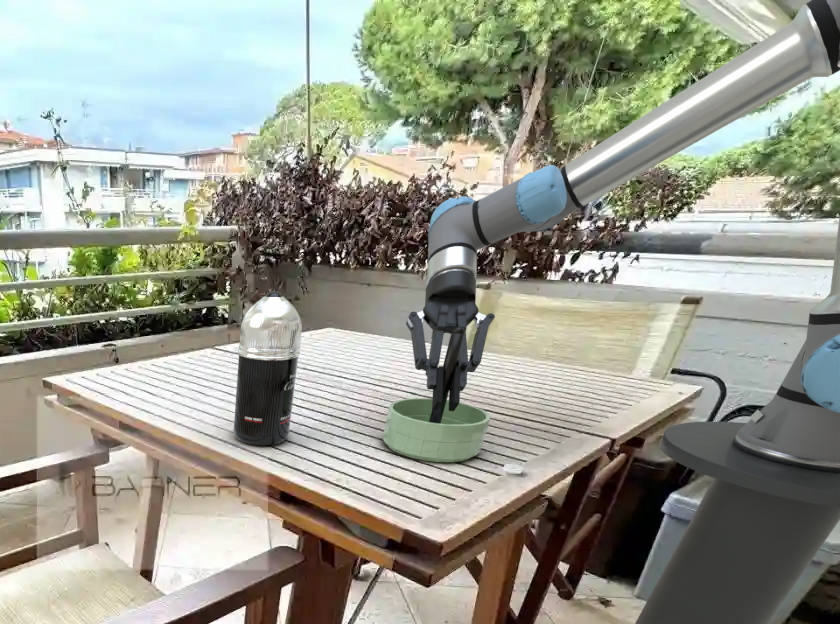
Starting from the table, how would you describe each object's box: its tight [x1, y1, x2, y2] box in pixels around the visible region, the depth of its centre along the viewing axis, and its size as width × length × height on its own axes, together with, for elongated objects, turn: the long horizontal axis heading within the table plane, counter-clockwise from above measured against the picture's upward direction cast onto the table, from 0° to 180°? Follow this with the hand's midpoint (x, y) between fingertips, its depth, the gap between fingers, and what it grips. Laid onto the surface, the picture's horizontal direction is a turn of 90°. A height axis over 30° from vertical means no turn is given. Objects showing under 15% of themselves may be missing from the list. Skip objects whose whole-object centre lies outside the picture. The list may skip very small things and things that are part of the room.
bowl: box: [382, 397, 491, 463], centre depth 93 cm, size 15×15×6 cm
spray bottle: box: [233, 290, 303, 447], centre depth 94 cm, size 10×10×25 cm
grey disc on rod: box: [429, 327, 465, 424], centre depth 90 cm, size 5×5×19 cm
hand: (445, 406), depth 88 cm, fingers closed on grey disc on rod, 2 cm apart
